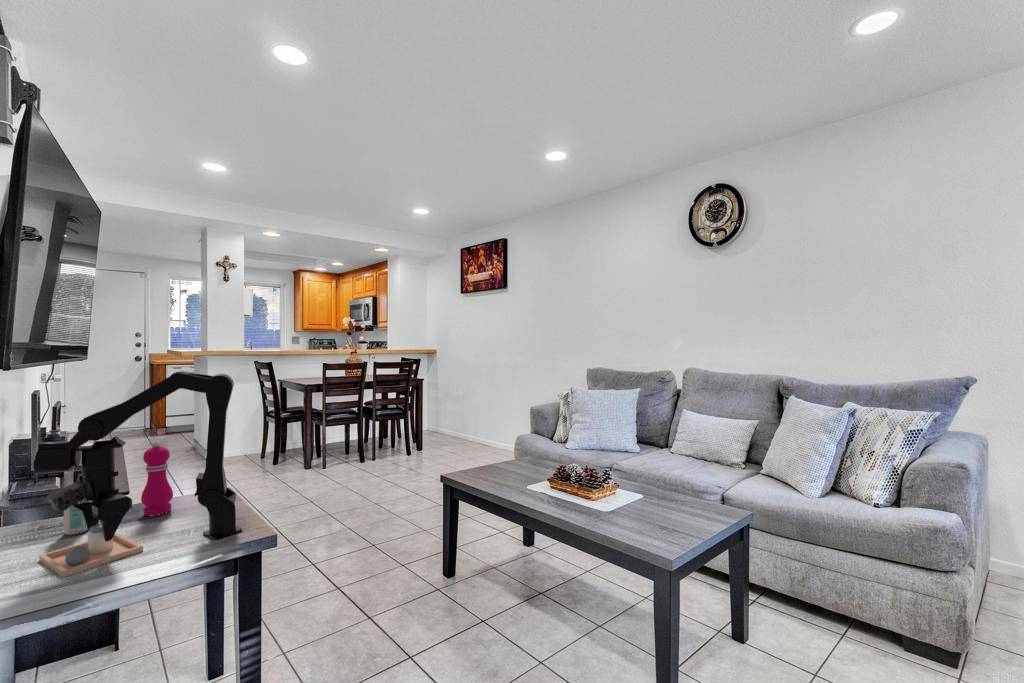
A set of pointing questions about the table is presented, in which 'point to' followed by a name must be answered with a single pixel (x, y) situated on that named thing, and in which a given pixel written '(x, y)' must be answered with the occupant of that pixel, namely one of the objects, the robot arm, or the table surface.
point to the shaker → (98, 541)
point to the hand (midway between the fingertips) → (99, 536)
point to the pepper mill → (156, 481)
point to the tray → (120, 550)
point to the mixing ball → (77, 556)
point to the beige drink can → (73, 521)
